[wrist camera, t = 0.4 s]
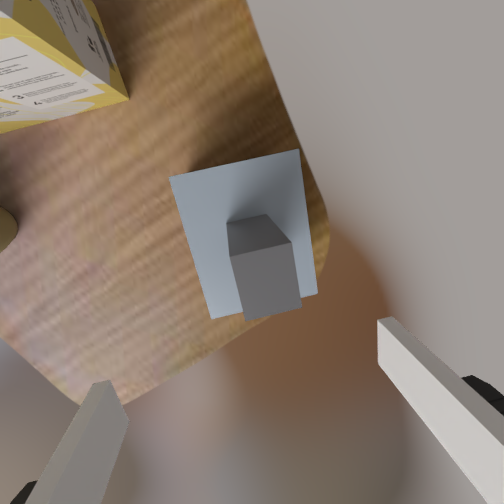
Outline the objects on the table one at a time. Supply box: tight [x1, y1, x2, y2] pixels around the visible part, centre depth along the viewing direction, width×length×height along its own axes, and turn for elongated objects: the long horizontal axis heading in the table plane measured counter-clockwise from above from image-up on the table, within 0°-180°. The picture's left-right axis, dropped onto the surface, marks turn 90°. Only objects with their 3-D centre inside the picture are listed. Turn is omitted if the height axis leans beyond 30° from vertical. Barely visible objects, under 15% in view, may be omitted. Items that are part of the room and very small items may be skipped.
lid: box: [169, 149, 318, 321], centre depth 28 cm, size 19×15×13 cm
